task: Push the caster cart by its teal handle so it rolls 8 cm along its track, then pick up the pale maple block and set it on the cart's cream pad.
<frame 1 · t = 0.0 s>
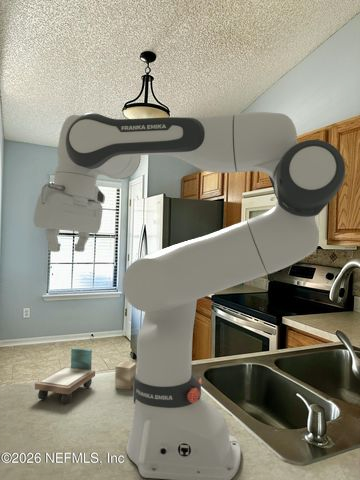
hand: (67, 251, 74), 39 cm above the countertop, tool pointing down, fingers open, 8 cm apart
maple block: (125, 385, 98), on the countertop
caster cart: (68, 373, 92), point 5 cm above the countertop, slide at 0.0 cm
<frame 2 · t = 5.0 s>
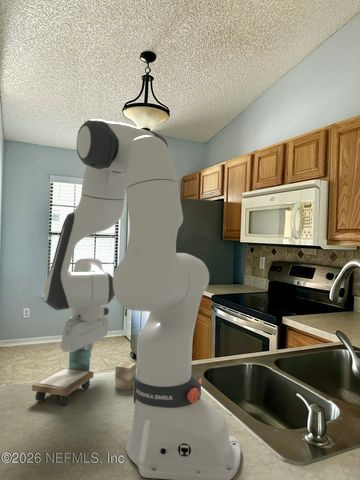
hand: (85, 358, 100), 6 cm above the countertop, tool pointing down, fingers closed
caster cart: (65, 375, 91), point 5 cm above the countertop, slide at 1.0 cm, touching gripper
everything else where it was.
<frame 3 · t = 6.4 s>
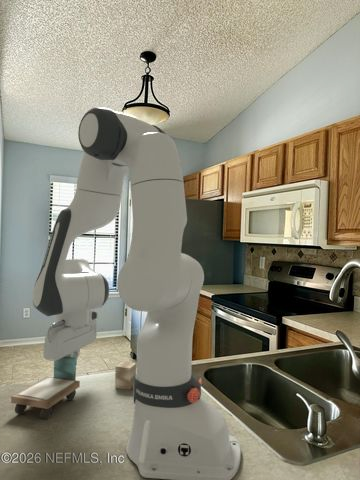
hand: (71, 367, 93), 7 cm above the countertop, tool pointing down, fingers closed
caster cart: (49, 385, 84), point 5 cm above the countertop, slide at 8.1 cm, touching gripper
everything else where it was.
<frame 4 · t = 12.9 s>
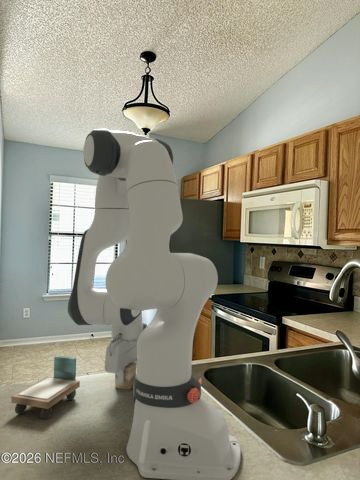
hand: (125, 378, 98), 2 cm above the countertop, tool pointing down, fingers closed on maple block, 4 cm apart
maple block: (125, 385, 97), on the countertop, touching gripper
caster cart: (49, 385, 84), point 5 cm above the countertop, slide at 8.0 cm
everything else where it was.
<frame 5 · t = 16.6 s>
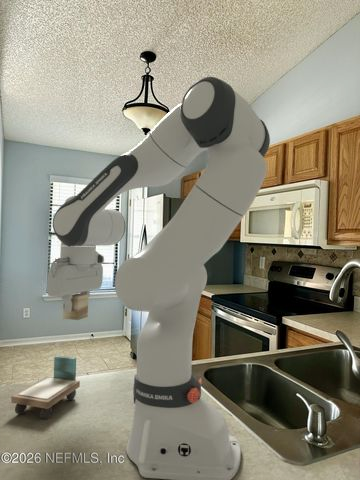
hand: (76, 309, 89), 23 cm above the countertop, tool pointing down, fingers closed on maple block, 4 cm apart
maple block: (75, 317, 89), point 21 cm above the countertop, touching gripper
everything else where it was.
when the fingers open (8 cm above the countertop, at t = 20.4 s): maple block drops 1 cm, resting on caster cart.
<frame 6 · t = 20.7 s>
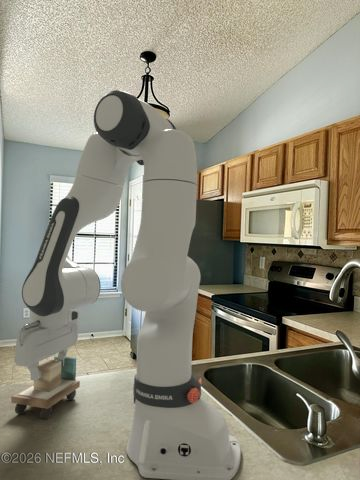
hand: (48, 372, 84), 8 cm above the countertop, tool pointing down, fingers open, 8 cm apart
maple block: (47, 387, 84), point 5 cm above the countertop, touching caster cart
caster cart: (49, 385, 84), point 5 cm above the countertop, slide at 8.0 cm, touching maple block
everything else where it was.
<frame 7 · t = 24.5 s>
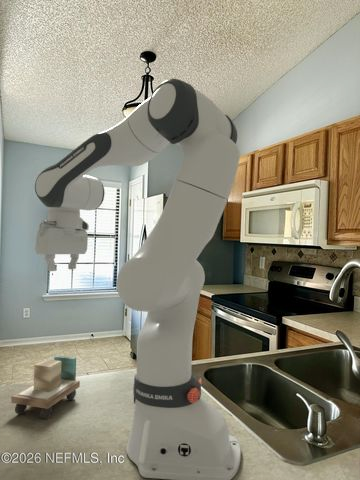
hand: (62, 270, 98), 33 cm above the countertop, tool pointing down, fingers open, 8 cm apart
nothing on the countertop moved.
at the end: caster cart slide at 8.0 cm; maple block inside the target area (0.1 cm from its centre), point 4.7 cm above the countertop; maple block tilted 0° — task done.
